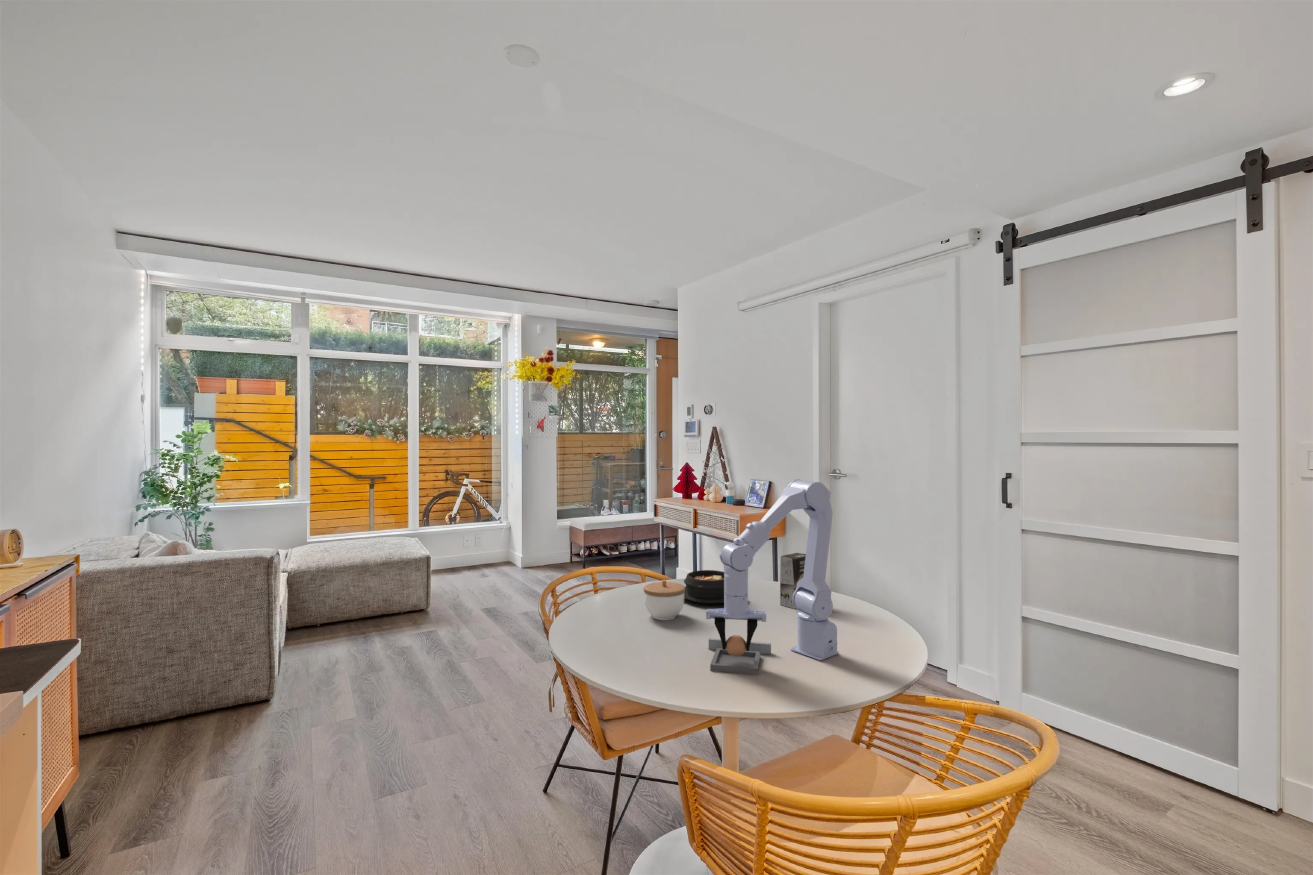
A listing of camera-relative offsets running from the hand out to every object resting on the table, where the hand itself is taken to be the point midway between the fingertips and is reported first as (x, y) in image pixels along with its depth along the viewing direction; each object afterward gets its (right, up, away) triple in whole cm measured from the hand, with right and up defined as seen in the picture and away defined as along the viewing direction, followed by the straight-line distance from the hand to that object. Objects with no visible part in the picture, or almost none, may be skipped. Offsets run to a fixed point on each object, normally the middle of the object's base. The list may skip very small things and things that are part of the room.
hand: (736, 648), depth 146 cm
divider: (+2, -4, +8) cm, 9 cm away
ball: (0, -2, 0) cm, 2 cm away
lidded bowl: (-17, -3, +37) cm, 40 cm away
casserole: (-2, -3, +54) cm, 54 cm away
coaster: (0, -4, 0) cm, 4 cm away
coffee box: (+26, -3, +49) cm, 55 cm away
